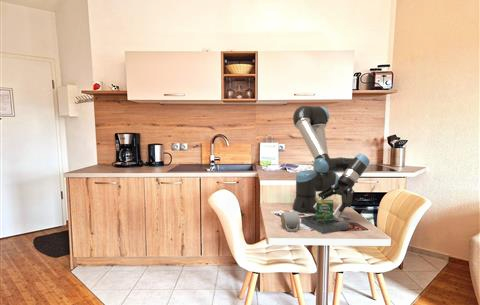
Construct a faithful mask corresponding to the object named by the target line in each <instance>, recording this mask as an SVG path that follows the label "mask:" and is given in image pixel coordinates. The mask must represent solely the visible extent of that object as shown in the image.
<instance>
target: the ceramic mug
mask: <svg viewBox="0 0 480 305" xmlns="http://www.w3.org/2000/svg"><path fill="white" fill-rule="evenodd" d="M280 222H281V227H282V228H285V229H286V231H288V232H290V233H295V232H297V231H298V230H299V228H300V226H301V225H300V224H301V217H300V214H299V212H297V211H294V210H293V211H287V212H285V211H284V212H282V213H281V214H280ZM292 228H293V229H292Z"/></svg>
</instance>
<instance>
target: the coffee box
mask: <svg viewBox="0 0 480 305" xmlns="http://www.w3.org/2000/svg"><path fill="white" fill-rule="evenodd" d="M316 200H317V212H316V215H317V222H319V223H321V224H330V223H333V217H334V216H333V213H334V200H333V199H324V200H323V199H319V198H316Z"/></svg>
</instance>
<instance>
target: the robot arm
mask: <svg viewBox="0 0 480 305" xmlns="http://www.w3.org/2000/svg"><path fill="white" fill-rule="evenodd" d="M329 119H330V113H329V111H328V109H327V108H326V107H325V106H320V105H301V106H298V107H297V108H296V109H295V111H294V113H293V116H292V120H293V122H292V123H293V124H294V127H295V128H296V129H297V130H298V131H299V132H300V134H301V137H302V138H303V140H304V142H305V145H306V146H307V147H308V150H309V151H310V154H311V155H312V157H313V169H305V170H300V171H298V172H297V173H296V175H295V176H296V178H295V198H294V202H293V204H292V210H293V212H294V211H297V212H298V213H301V214H302V213H303V214H317V195H318V199H323V200H327V199H328V198H329V197H331V196H335V195H338V196H340V197H341V203H339V205H338V206H337V208H336V209H335V210H334V211H333V217H335V218H338V217H339V216H340V215H341V213H343V211H344V210H345V209H346V208H351V207H352V201H353V195H354V194H355V190H354V188H353V187H355V184H356V183H357V182H358V181H359V179H360V177H361V176H362V175H363V174H364V172H365V171H366V169H367V168H368V166H369V165H370V163H371V161H370V158H368V156H366V155H365V154H362V153H358V154H356V155H355V156H354V158H353V157H330V155H329V151H328V145H327V138H326V132H325V131H326V130H325V128H326V127H327V124H328V123H329ZM337 172H340V173H341V172H342V174H341V175H340V176H339V175H338V174H337ZM318 192H319V193H318ZM317 193H318V194H317Z"/></svg>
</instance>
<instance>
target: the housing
mask: <svg viewBox="0 0 480 305" xmlns="http://www.w3.org/2000/svg"><path fill="white" fill-rule="evenodd" d="M300 224H302V225H304V226H307V227H309V228H310V229H312V230H314V231H317V232H318V233H319V234H322V235H326V234H330V233H334V232H336V233H337V232H340V231H341V232H342V231H345V230H349V229H350V222H348V221H346V220H343V219H341V218H338V217H337V218H335V217H334V216H333V223H330V224H321V223H319V222H317V214H314V215H313V214H312V215H306V216H302V217H300Z"/></svg>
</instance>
